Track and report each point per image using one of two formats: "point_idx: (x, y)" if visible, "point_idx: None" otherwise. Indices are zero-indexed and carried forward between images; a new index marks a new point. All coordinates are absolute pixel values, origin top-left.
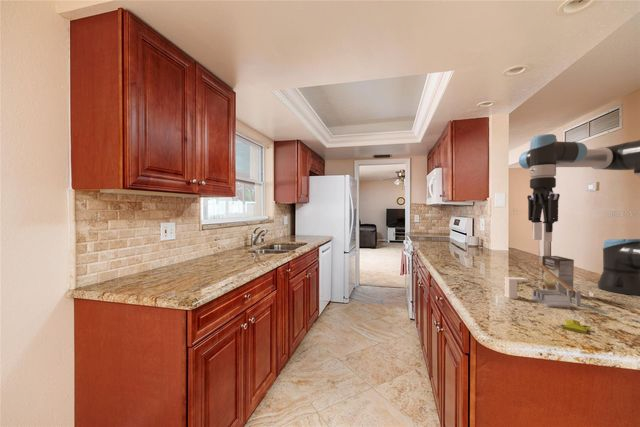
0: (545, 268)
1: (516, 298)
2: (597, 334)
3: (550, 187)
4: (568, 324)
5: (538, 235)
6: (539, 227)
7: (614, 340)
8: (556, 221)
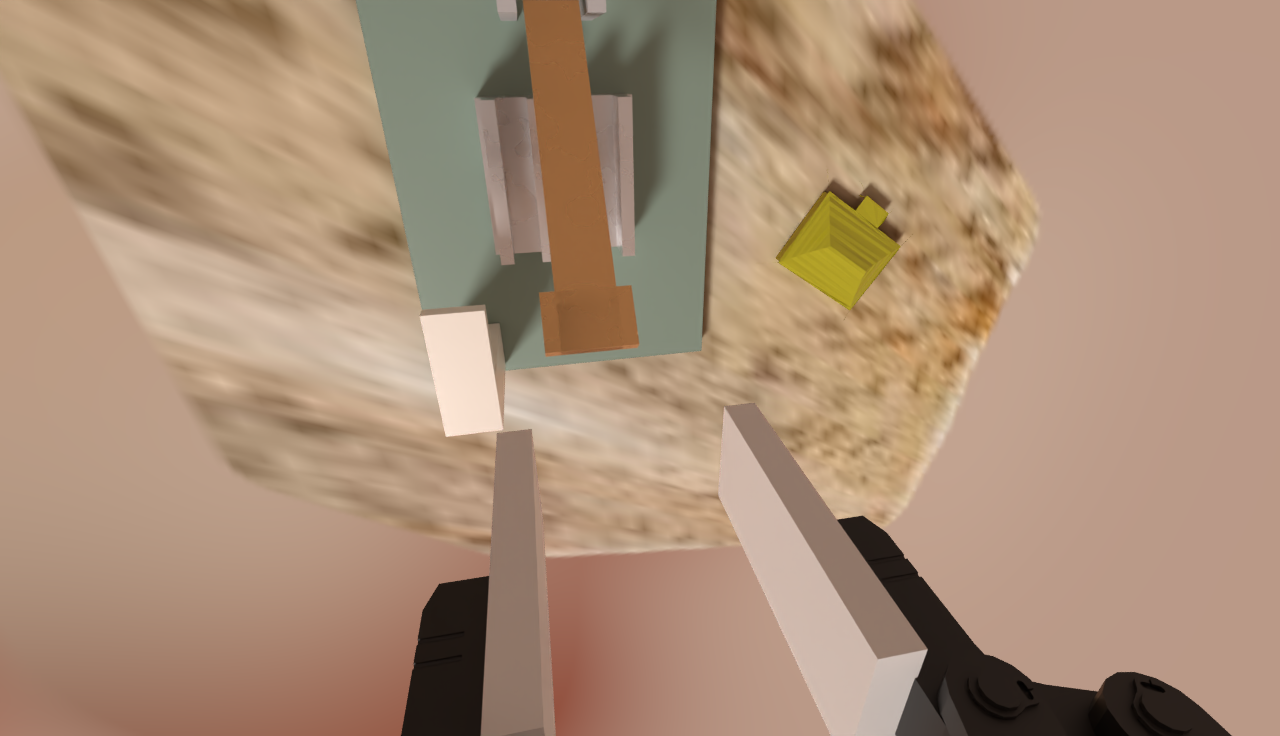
0: (631, 303)
1: (499, 327)
2: (902, 202)
3: None
4: (856, 288)
5: (538, 520)
6: (544, 641)
7: (953, 180)
8: (1133, 686)
